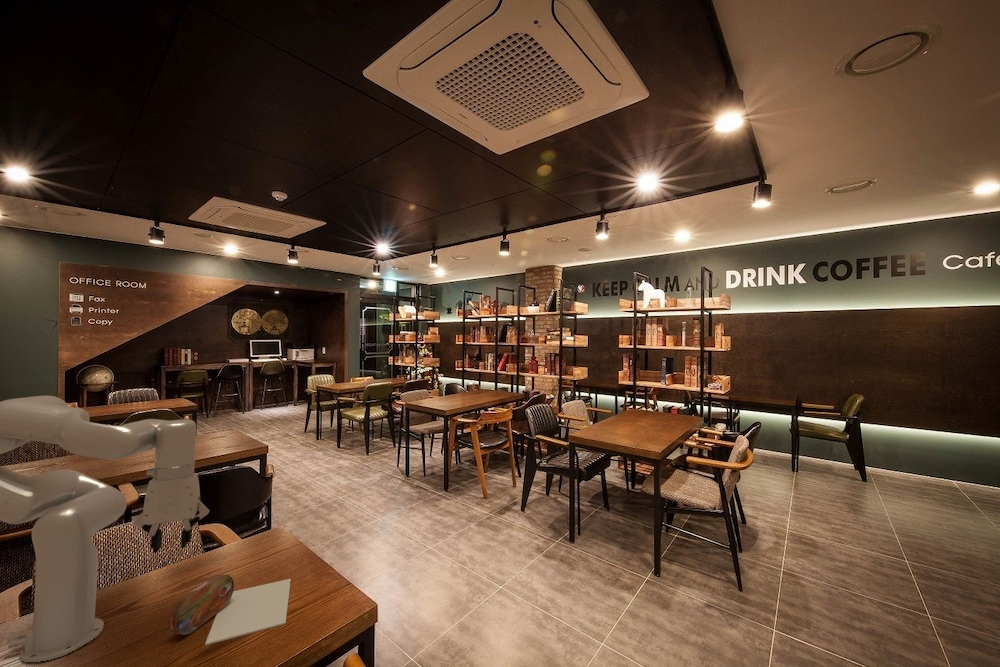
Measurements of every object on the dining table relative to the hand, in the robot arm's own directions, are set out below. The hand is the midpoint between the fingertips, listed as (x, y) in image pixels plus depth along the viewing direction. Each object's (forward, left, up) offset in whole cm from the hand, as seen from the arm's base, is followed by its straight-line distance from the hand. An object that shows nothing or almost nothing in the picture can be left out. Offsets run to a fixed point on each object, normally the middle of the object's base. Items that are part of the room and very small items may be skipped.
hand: (171, 547), depth 93 cm
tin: (+7, 0, -19) cm, 20 cm away
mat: (+18, 0, -19) cm, 26 cm away
